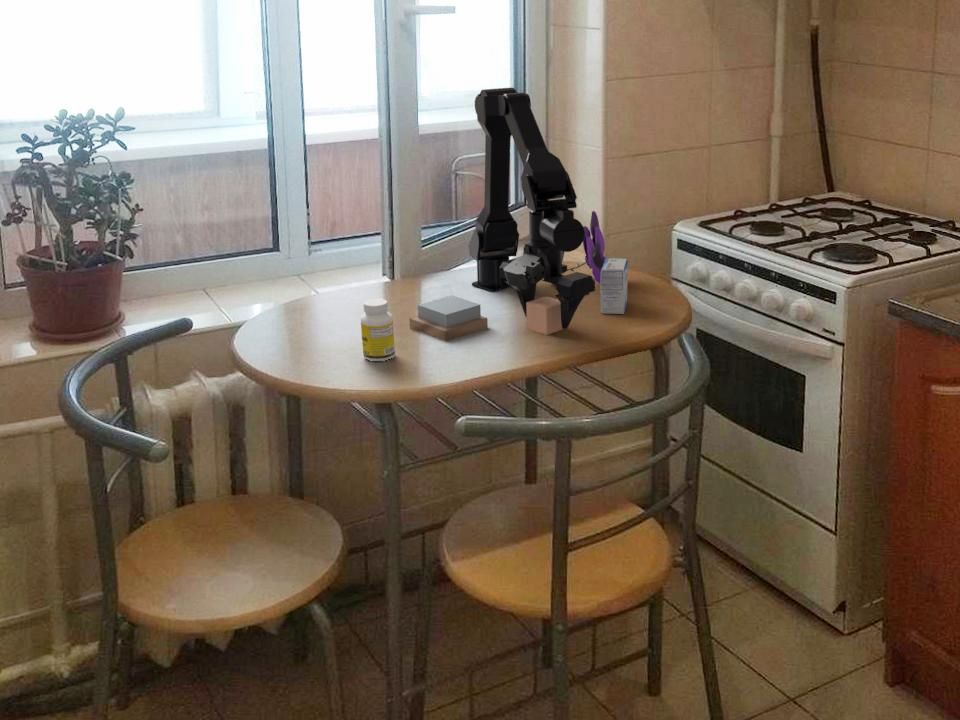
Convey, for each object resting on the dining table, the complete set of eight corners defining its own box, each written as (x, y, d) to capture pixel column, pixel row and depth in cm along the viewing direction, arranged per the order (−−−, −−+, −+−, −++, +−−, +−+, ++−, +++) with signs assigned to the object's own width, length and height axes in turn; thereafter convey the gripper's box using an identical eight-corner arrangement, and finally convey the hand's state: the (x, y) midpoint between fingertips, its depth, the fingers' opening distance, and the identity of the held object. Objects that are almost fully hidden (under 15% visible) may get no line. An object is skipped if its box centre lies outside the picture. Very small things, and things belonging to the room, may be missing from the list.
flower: (554, 321, 220) (614, 294, 214) (519, 254, 217) (578, 225, 212) (572, 299, 233) (629, 273, 227) (538, 235, 230) (595, 207, 225)
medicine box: (624, 315, 206) (625, 269, 203) (600, 314, 207) (600, 269, 204) (627, 302, 214) (628, 258, 211) (604, 301, 215) (604, 257, 211)
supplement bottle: (363, 352, 192) (359, 297, 188) (395, 350, 192) (391, 296, 188) (363, 363, 187) (359, 307, 183) (395, 361, 187) (392, 306, 183)
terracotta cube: (526, 328, 201) (526, 302, 199) (546, 322, 204) (546, 296, 202) (546, 335, 197) (546, 308, 196) (566, 328, 201) (566, 302, 199)
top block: (418, 317, 202) (417, 304, 201) (452, 308, 207) (451, 295, 206) (446, 328, 197) (445, 314, 196) (480, 317, 201) (480, 304, 201)
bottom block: (410, 331, 203) (409, 318, 202) (451, 318, 209) (451, 305, 208) (445, 344, 196) (444, 330, 195) (487, 330, 202) (487, 317, 201)
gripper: (475, 237, 196) (478, 321, 202) (551, 257, 183) (551, 346, 189) (521, 225, 203) (522, 307, 209) (597, 243, 190) (596, 330, 196)
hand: (546, 322), depth 200 cm, fingers open, 9 cm apart
